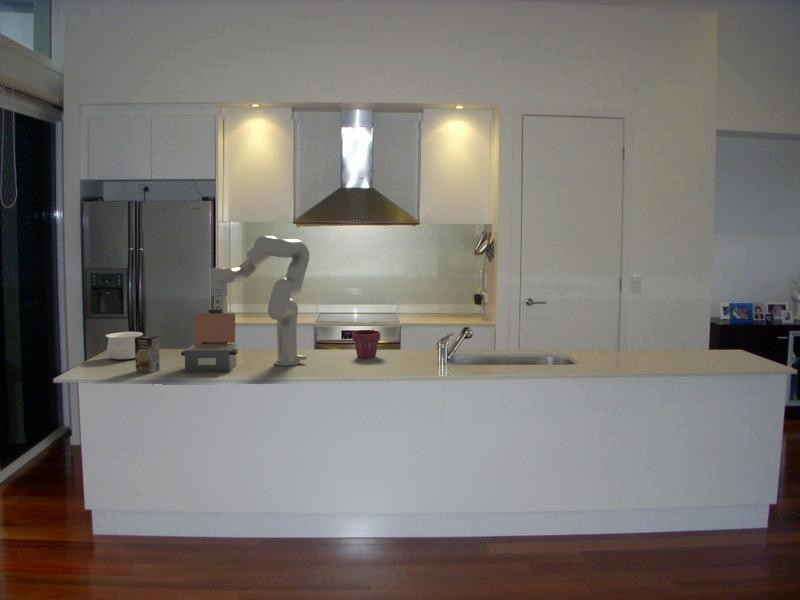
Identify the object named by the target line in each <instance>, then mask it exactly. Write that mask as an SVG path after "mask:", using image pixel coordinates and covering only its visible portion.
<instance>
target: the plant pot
mask: <svg viewBox="0 0 800 600" xmlns="http://www.w3.org/2000/svg"><path fill="white" fill-rule="evenodd" d="M351 335H352V336H351V339H352V341H353V343H354V346H355V352H356V356H357V359H358V358H359V359H363V360H366V359H367V360H368V359H374V358H376V355H377V351H378V347H379V340H381V331H379V330H375V329H373V330H372V329H362V330H354V331H352V333H351Z"/></svg>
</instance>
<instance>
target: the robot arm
mask: <svg viewBox="0 0 800 600" xmlns="http://www.w3.org/2000/svg"><path fill="white" fill-rule="evenodd" d="M271 257H276V258H284V259H285V258H287V259H288V258H291V260H290V263H289V265H288V267H287V271H286V273H285V274H286V275H285V277H282V278H280V279H278V280H277V281H276V282H275V283H274V284H273V286H272V290H271V294H270V297H269V302H268V306H267V313H268V316H269V318H271V319H272V320H274V321H276V350H277V351H276V352H277V353H276V355H277V358H276V360H274V361H273V364H274V365H276V366H287V367H289V366H296V365H300V364H301V361H302V360H304V361H306V360H307V355H300V354H299V352H298V330H297V329H298V327H297V325H298V313H299V306H298V303H297V301H296V300H294V298H293V297H297V296H298V295H300V293H301V290H302V287H303V283H304V279H305V276H306V272H307V268H308V266H309V261H310V251H309V248H308V247H307V245H306V244H305V243H304V242H303V241H302V240H300V239H297V238H289V239H288V238H287V239H286V238H285V239H284V238H283V239H282V238H277V237H275V236H274V235H262V236H259V237H257V238H256V239H255V241H254V243H253V247H252V248H250V249H249V250H248V251H247V252H246V259H245V260H244V262H242V263H241V264H240V265H238V266H234V267H233V266H232V267H227V268H225V267H213V268H211V270H210V276H211V277H210V278H211V279H210V280H211V284H210V285H211V296H212V297H213V310H222V313H228V312H229V311H228V300H227V297H228V284H236V283H241V282H243V281H245V280H247V279H248V278H249V277H250V276H252V275H253V274H254V273H255V272H256V271H257V270H258V268H259V267H260V265H261V264H263V263H264V262H266V261H267V260H268V259H269V258H271Z"/></svg>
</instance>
